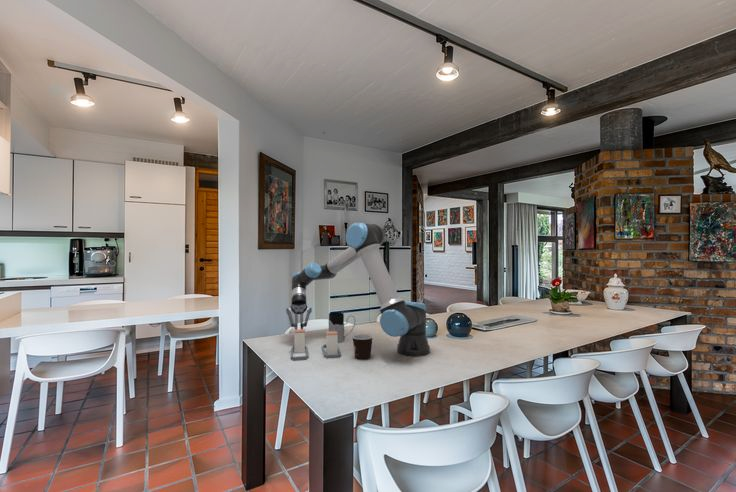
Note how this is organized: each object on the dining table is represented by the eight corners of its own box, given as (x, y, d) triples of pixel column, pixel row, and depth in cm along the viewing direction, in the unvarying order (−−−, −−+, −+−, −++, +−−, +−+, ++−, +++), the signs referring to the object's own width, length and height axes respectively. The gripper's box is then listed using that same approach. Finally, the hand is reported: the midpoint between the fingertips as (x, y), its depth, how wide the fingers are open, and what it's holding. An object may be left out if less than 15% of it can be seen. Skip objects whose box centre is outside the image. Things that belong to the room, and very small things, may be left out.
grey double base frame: (290, 351, 162) (290, 346, 162) (337, 348, 167) (337, 343, 167) (290, 364, 144) (290, 358, 144) (342, 360, 149) (342, 354, 149)
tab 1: (294, 350, 160) (294, 329, 160) (304, 349, 160) (304, 329, 161) (294, 353, 156) (294, 331, 156) (305, 352, 156) (305, 331, 157)
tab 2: (326, 353, 156) (326, 331, 156) (336, 352, 157) (336, 331, 157) (326, 355, 152) (326, 333, 152) (337, 355, 152) (337, 333, 153)
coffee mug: (370, 364, 144) (370, 340, 144) (350, 362, 146) (350, 338, 146) (375, 355, 156) (375, 333, 156) (356, 354, 158) (356, 332, 158)
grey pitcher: (326, 341, 179) (326, 312, 179) (353, 340, 182) (353, 311, 182) (328, 346, 170) (328, 315, 171) (357, 344, 174) (357, 314, 174)
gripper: (311, 302, 184) (312, 342, 167) (286, 302, 181) (284, 343, 165) (311, 293, 178) (313, 334, 162) (285, 294, 176) (284, 335, 159)
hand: (299, 338), depth 163 cm, fingers closed
